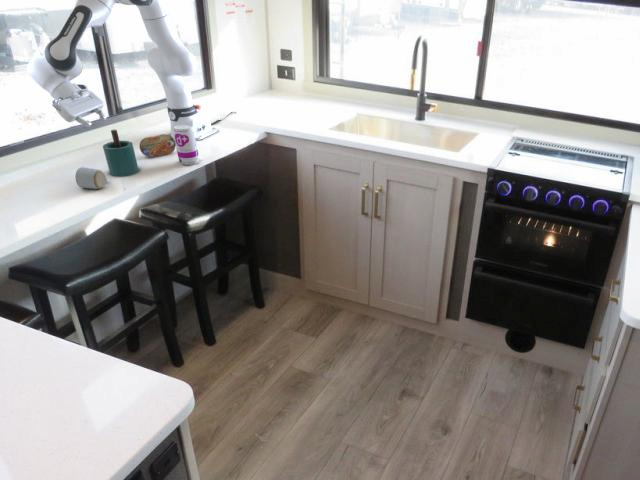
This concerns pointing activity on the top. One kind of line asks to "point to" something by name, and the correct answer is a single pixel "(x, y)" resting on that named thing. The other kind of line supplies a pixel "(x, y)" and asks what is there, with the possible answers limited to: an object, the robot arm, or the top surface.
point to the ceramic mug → (90, 178)
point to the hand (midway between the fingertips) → (97, 122)
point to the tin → (157, 145)
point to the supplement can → (186, 144)
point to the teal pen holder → (121, 158)
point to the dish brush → (116, 139)
